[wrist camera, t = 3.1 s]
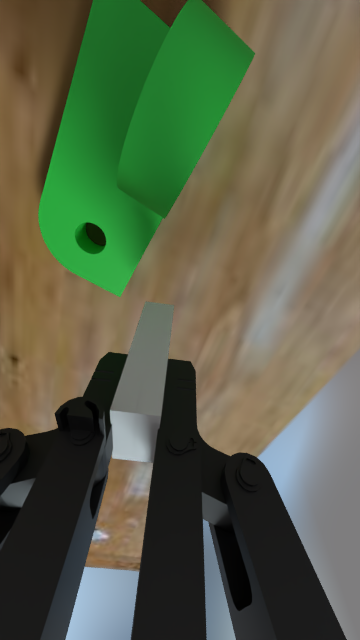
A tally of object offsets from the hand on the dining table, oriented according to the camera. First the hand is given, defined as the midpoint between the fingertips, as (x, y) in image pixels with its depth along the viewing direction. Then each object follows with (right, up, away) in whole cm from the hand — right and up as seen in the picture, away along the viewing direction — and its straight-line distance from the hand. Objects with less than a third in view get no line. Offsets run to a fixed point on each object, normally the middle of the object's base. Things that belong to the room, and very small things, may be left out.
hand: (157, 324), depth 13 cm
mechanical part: (-2, +9, +1) cm, 9 cm away
